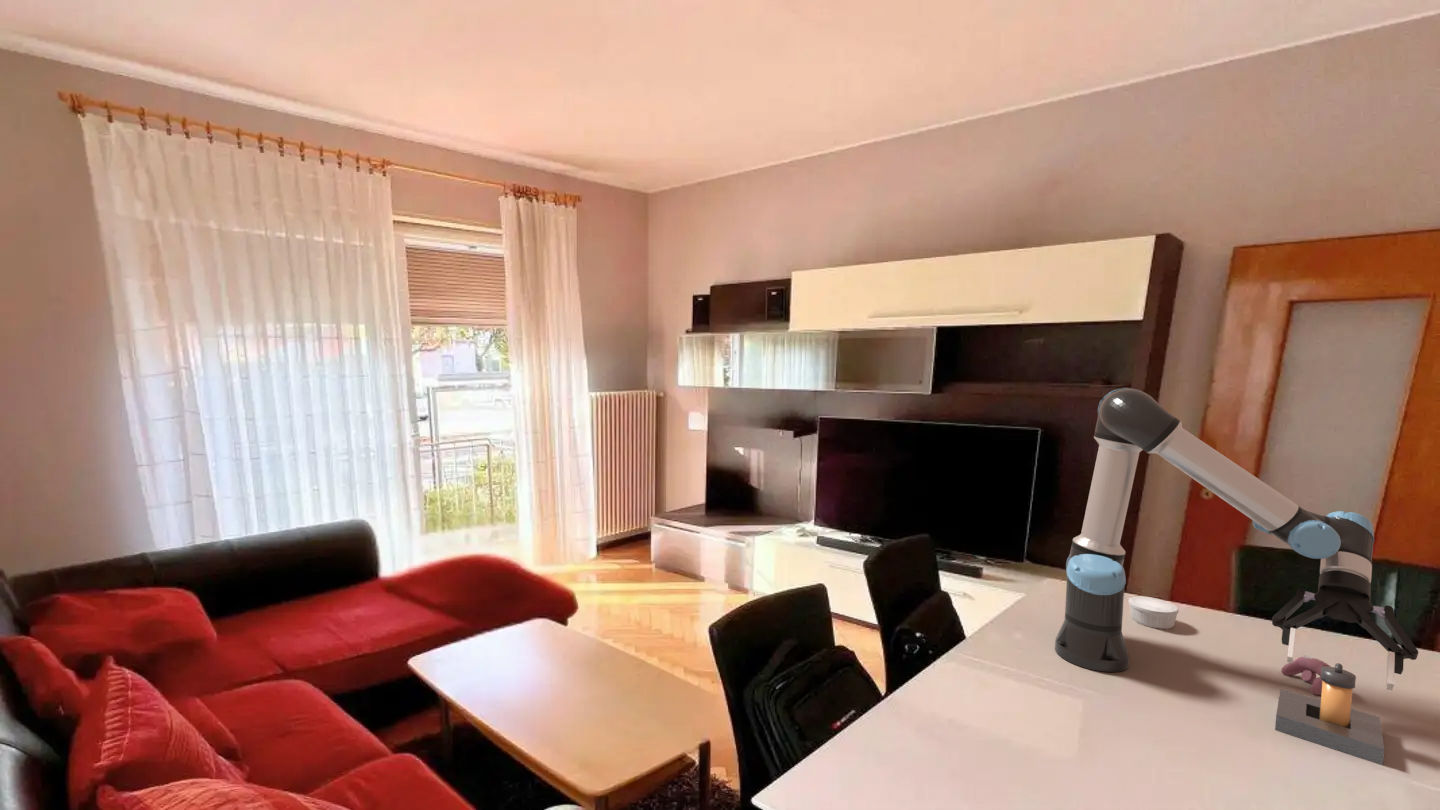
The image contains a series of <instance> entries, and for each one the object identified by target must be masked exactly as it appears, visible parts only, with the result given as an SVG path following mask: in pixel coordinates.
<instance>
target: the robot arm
mask: <svg viewBox="0 0 1440 810" xmlns="http://www.w3.org/2000/svg"><path fill="white" fill-rule="evenodd" d="M1182 423H1183V422H1182V421H1181V420H1180V419H1179V418H1177V417H1175V416H1174V415H1173V414H1172V413H1170V412H1169V411H1168V410H1166V409H1165V408H1164V407H1163V406H1161V404H1160V403H1158V402H1157V401H1156V400H1155V399H1154V398H1153V397H1152V396H1151V395H1149V394H1148V393H1146V392H1144V391H1142V390H1140V389H1136V388H1131V387H1122V388H1117V389H1114V390H1112V391H1110V392H1108V393H1107V394H1106V395H1104V396H1103V398H1102V399H1101V400H1100V401H1099V403H1098V406H1097V421H1096V424H1095V430H1094V434H1093V438H1094V440H1095V441H1096V443H1097V444H1098V451H1097V454H1096V460H1095V465H1094V469H1093V474H1092V478H1091V479H1092V480H1091V484H1090V489H1089V493H1088V499H1087V503H1086V507H1085V514H1084V518H1083V522H1082V527H1081V533H1080V534H1079V535H1076V536H1075V537H1073V538H1072V543H1071V547H1070V551H1069V555H1068V557H1067V559H1066V563H1065V569H1066V571H1065V572H1066V590H1065V591H1066V593H1065V604H1064V605H1065V607H1064V611H1065V612H1064V619H1063V622H1062V625H1061V626H1060V628H1059V631H1058V633H1057V634H1056V637H1055V641H1054V651H1055V652H1056V654H1057V655H1058V656H1059V657H1061V658H1062V659H1064V660H1066V661H1067V662H1069V663H1071V664H1073V665H1076V666H1079V667H1082V668H1084V669H1088V670H1093V671H1098V672H1104V673H1117V672H1118V673H1119V672H1122V671H1126V670H1127V669H1128V668H1129V665H1130V664H1129V663H1130V656H1129V652H1128V648H1127V645H1126V642H1125V638H1124V635H1123V617H1124V616H1123V615H1124V599H1125V597H1124V596H1125V586H1126V582H1127V579H1126V578H1127V577H1126V572H1125V568H1124V561H1125V556H1126V550H1125V549H1124V548H1123V546H1122V545H1121V539H1122V536H1123V531H1124V526H1125V522H1126V521H1125V520H1126V516H1127V512H1128V508H1129V503H1130V498H1131V495H1132V494H1131V493H1132V489H1133V484H1134V479H1135V475H1136V471H1137V466H1138V461H1139V457H1140V453H1141V452H1142V451H1144V452H1146V453H1147V454H1157V455H1158V456H1160V457H1161V458H1163V459H1164V460H1165V461H1166V462H1168V463H1169V464H1171V465H1172V466H1174V467H1175V468H1177V469H1178V470H1180V471H1181V472H1183V473H1184V474H1185V475H1187V476H1189V478H1191V479H1192V480H1194V481H1195V482H1197V483H1198V484H1200V485H1201V486H1203V487H1204V488H1206V489H1207V490H1209V491H1210V492H1211V493H1213V494H1214V495H1216V496H1218V497H1219V498H1220V499H1221V500H1223V501H1224V502H1226V503H1227V504H1228V505H1230V506H1231V507H1233V508H1235V509H1236V510H1237V511H1239V512H1240V513H1242V514H1243V515H1245V516H1246V517H1247V518H1249V519H1250V520H1252V526H1253V527H1254V529H1256V530H1258V531H1261V532H1263V533H1266V534H1268V535H1273V536H1275V537H1276V538H1277V539H1279V540H1281V541H1282V542H1283V543H1284V544H1286V545H1288V546H1289V547H1290V548H1291V549H1292V550H1293V551H1294V552H1296V553H1297V554H1299V555H1301V556H1303V557H1307V558H1310V559H1313V560H1314V559H1316V560H1320V565H1319V579H1318V585H1317V586H1318V587H1317V589H1318V590H1317V592H1316V593H1313V592H1310V591H1306V589H1305V588H1304V587H1298V588H1297V590H1296V593H1295V595H1294V597H1292V598H1291V599H1289V601H1288V602H1287V603H1285V604H1284V605H1283V606H1282V607H1281V608H1280V609H1279V610H1278V611H1277V612H1276V613H1275V614H1273V616H1271V625H1273V626H1274V627H1276V628H1280V629H1281V630H1282V633H1281V643H1282V645H1284V646H1287V647H1288V649H1287V657H1286V660H1287V661H1286V662H1287V664H1288V663H1292V662H1293V661H1294V660H1293V659H1294V652H1295V651H1294V650H1295V643H1296V642H1295V641H1296V634H1297V633H1296V631H1297V629H1299V628H1301V627H1303V626H1305V625H1307V624H1310V623H1311V622H1313V621H1315V620H1318V619H1322V618H1324V617H1325V616H1327V617H1329V618H1330V619H1332V620H1335V621H1337V620H1338V621H1339V620H1340V621H1343V622H1346V623H1351V624H1353V623H1357V624H1358V625H1359V626H1360V627H1361V629H1362V628H1363V629H1365V630H1366V631H1367V632H1368V633H1369V634H1370V635H1371V636H1372V637H1373V639H1375V640H1376V641H1377V642H1378V644H1380V645H1381V646H1382V647H1383V648H1384V649H1385V650H1386V651H1387V652H1388V653H1387V659H1386V661H1387V662H1386V686H1385V688H1386V690H1387V691H1393V689H1394V685H1395V674H1397V675H1402V674H1403V672H1404V660H1405V659H1409V660H1410V661H1411V660H1412V661H1415V660H1417V659H1418V655H1419V650H1418V649H1417V647H1416V646H1415V644H1414V643H1413V642H1412V640H1411V639H1410V637H1409V635H1408V634H1407V632H1406V631H1405V630H1404V629H1403V627H1402V626H1401V624H1400V622H1399V621H1398V619H1397V618H1396V617H1395V611H1394V607H1392V606H1391V605H1384V606H1383V607H1382V606H1377V605H1373V604H1372V602H1371V594H1372V593H1371V591H1372V590H1371V589H1372V585H1371V584H1372V583H1371V582H1372V574H1373V573H1372V572H1373V559H1372V558H1373V552H1374V543H1375V536H1374V535H1375V534H1374V526H1373V523H1372V521H1371V520H1370V519H1369V518H1367V517H1366V516H1364V515H1362V514H1359V513H1357V512H1353V511H1350V512H1347V511H1344V510H1337V511H1333V512H1330V513H1328V514H1327V515H1322V514H1319V513H1316V512H1312V511H1309V510H1306V509H1304V508H1302V507H1301V506H1300V505H1298V504H1297V503H1295V501H1292V500H1290V499H1289V497H1286V496H1285V495H1283V494H1282V493H1280V492H1279V491H1278V490H1276V489H1274V488H1273V487H1271V486H1270V485H1268V484H1267V483H1265V482H1264V481H1262V480H1261V479H1260V478H1258V477H1256V476H1255V475H1254V474H1252V473H1251V472H1249V471H1247V470H1246V469H1244V468H1243V467H1242V466H1240V465H1239V464H1237V463H1236V462H1235V461H1232V460H1231V459H1229V458H1228V457H1226V456H1225V455H1223V454H1222V453H1220V452H1219V451H1218V450H1216V449H1214V448H1213V447H1212V446H1210V445H1209V444H1207V443H1205V441H1203V440H1201V439H1199V438H1198V437H1197V436H1195V435H1193V434H1192V433H1191V432H1189V431H1188V430H1186V429H1185V428H1184V427H1183V424H1182ZM1312 600H1313V601H1314V603H1315V604H1316V605H1314V606H1313V607H1312V608H1310V609H1308V610H1306V611H1304V612H1302V613H1300V614H1297V615H1295V616H1293V617H1291V616H1292V615H1293V614H1295V612H1296V611H1297V610H1298V609H1300V608H1301V606H1302V605H1303V603H1308V602H1309V601H1312ZM1373 613H1374V614H1376V615H1377V616H1378V618H1379V619H1381V620H1383V622H1384V624H1385V625H1386V627H1387V629H1388V630H1389V632H1390V633H1391V634H1392V636H1393V637H1394V639H1395V640H1396V641H1394V639H1393V638H1392V637H1390V635H1388V634H1387V633H1386V632H1385V630H1383V629H1382V628H1381V627H1380V626H1379V625H1378V624H1377V623H1376V621H1374V620H1373V619H1372V617H1371V616H1370V615H1372V614H1373ZM1290 617H1291V618H1290ZM1289 618H1290V619H1289Z"/></svg>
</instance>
